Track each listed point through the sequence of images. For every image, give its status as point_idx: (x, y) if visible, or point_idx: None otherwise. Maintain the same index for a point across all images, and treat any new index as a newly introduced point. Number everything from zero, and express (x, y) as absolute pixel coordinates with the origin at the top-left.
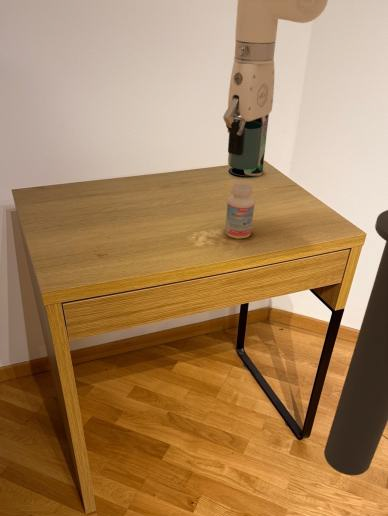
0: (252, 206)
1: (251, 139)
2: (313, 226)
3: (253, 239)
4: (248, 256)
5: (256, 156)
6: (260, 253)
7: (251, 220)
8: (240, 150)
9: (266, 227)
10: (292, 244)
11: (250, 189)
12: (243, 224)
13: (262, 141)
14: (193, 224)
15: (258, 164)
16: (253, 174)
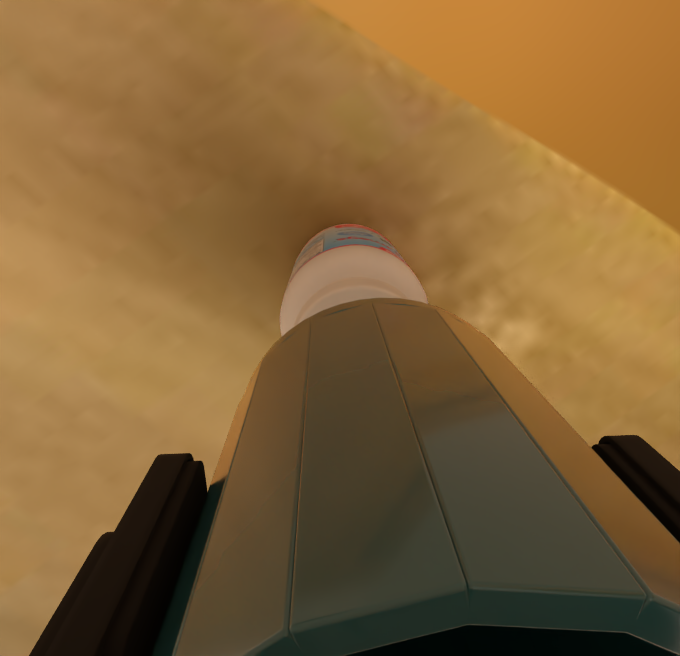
0: (350, 245)
1: (630, 491)
2: (13, 45)
3: (346, 196)
4: (493, 119)
5: (430, 335)
6: (437, 93)
7: (341, 233)
8: (663, 470)
9: (206, 221)
10: (262, 21)
11: (364, 288)
12: (389, 244)
13: (150, 484)
14: None
15: (355, 308)
16: None
